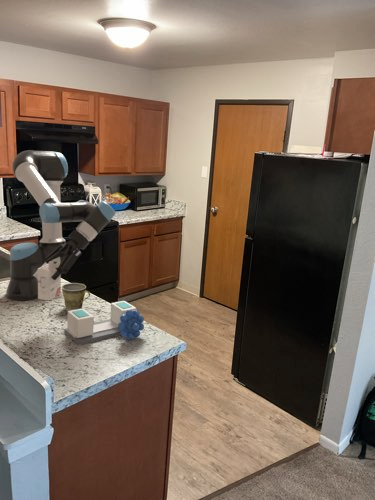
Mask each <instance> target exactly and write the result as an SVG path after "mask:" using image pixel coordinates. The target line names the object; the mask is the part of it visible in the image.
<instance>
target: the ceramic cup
mask: <svg viewBox="0 0 375 500" xmlns="http://www.w3.org/2000/svg"><path fill="white" fill-rule="evenodd" d="M61 290H62V292H61V293H62V295H63V300H64V305H65V306H64V307H65V310H66V311H67V312H68V311H71V310H77V309H82V308H83V303H84V302H85V300H87V299H88V298H90V296H91V294H90V293H91V292H90V291H89V290H87V285H85V284H84V283H79V282H70V283H69V282H68V283H66V284H63V285H62V286H61ZM86 293H87V294H88V296H86V297H85V294H86Z"/></svg>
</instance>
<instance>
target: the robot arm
mask: <svg viewBox="0 0 375 500" xmlns="http://www.w3.org/2000/svg"><path fill="white" fill-rule="evenodd" d="M12 172H13V175H14V176H15V178H16V179H17V180H18V181H19V182H22V183H23V185H24V186H25V188H26V189H27V190H28V192H29V194H31V196H32V197H33V199H34V200H35V201H36V203H37V204H38V206H39V211H38V212H39V213H38V214H39V218H40V220H41V225H42V226H41V227H42V238H41V239H40V240H39V244H37V243H35V242H22V243H19V244H18V243H17V244H15V245H13V246H12V247H11V248H10V249H9V270H10V272H9V273H10V274H9V275H10V276H9V277H10V280H9V283H8V285H7V288H6V290H5V291H6V292H5V293H6V297H7V298H8V299H10V300H13V301H15V300H16V301H28V300H29V301H30V300H35V299H38V270H37V269H38V268H40V267H42V266H44V265H46V264H48V263H49V262H50V261H52V260H54V259H56V258H58V257H60V265H59V266H58V268H55V270H54V271H53V272H52V273H51V274H50V275H49V276H48V277H47V278H46V280H45V281H44V282H43V284H44V285H46V286H47V287H48V288H49V287H50V286H51V285H52V283H53V282H54V281H55V280H56V279H57V278H58V277H59V276H60V275H61V276H62V275H63V274H64V275H67V274H68V273H69V271H70V270H71V268H72V267H73V265H74V264H75V263H76V261H77V260H78V258H80V257H81V256H82V254H83V253H82V252H81V250H85V249H86V248H87V246H89V244H90V242H92V241H93V240H94V239H95V238H96V237H97V235H98V234H99V233H100V232H101V231H102V230H103V229H104V228H105V227H106V226H107V225H108V224H109V223H110V222H111V221H112V219H113V218H114V216H116V211H115V209H114V208H113V206H111V205H110V204H109V203H108V202H106V201H103V200H102V201H100V202H99V203H97V204H94V203H92V202H90V201H87V200H83V199H80V200H78V201H74V202H62V201H61V185H62V183H64V178H66V177H67V175H68V172H69V166H68V162H67V159H66V157H65V155H64V154H62V153H61V152H57V151H52V150H51V151H50V150H48V151H47V150H33V149H32V150H31V149H29V150H24V151H21V152H20V153H17V155H16V156H15V157H14V159H13V161H12ZM72 222H73V223H74V222H80V223H79V224H78V225H77V227H75V229H74V230H72V232H71V233H70V234H69V235H68V239H69V240H68V241H66V239H65V238H64V237H63V227H62V226H63V225H62V223H72ZM80 249H81V250H80ZM56 263H57V262H54V264H56Z"/></svg>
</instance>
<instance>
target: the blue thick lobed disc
mask: <svg viewBox="0 0 375 500" xmlns="http://www.w3.org/2000/svg"><path fill="white" fill-rule="evenodd" d="M144 320H145V318H144V316H143V315H141V314H140V311H139V310H137V309H136V310H134V311H132V310H127V311H126V315H121V316H120V321H121V322H120V323H119V324H118V328H119V330H121V332H120V333H121V335H120V336H121V337H123V338H126V339H127V340H129V341H130V340H131V341H132V340H133V339H134V337H135V338H138V337H140V336H141V331H143V330H144V329H145V325H144Z"/></svg>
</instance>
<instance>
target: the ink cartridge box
mask: <svg viewBox="0 0 375 500" xmlns="http://www.w3.org/2000/svg"><path fill="white" fill-rule="evenodd" d="M54 262H57V263H56V264H54ZM59 265H60V257H58V258H56V259H54V260H52V261H50V262H49V263H48V264H46V265H44V266H42V267H40V268H38V269H37V270H38V298H37V299H38V300H43V301H52V300H53V299H54V298H56V297H58V295H60V294H62V292H61V290H62V286H61V285H62V284H61V283H62V282H61V281H62V274H61V275H60V276H59V277H58V278H57V279H56V280H55V281H54V282H53V283H52V285H51V286H50V287H49V288H48V287H47V286H46V285H44V284H43V282H44V281H45V280H46V278H47V277H48V276H49V275H50V274H51V273H52V272H53V271H54V270H55V268H58V266H59Z"/></svg>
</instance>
